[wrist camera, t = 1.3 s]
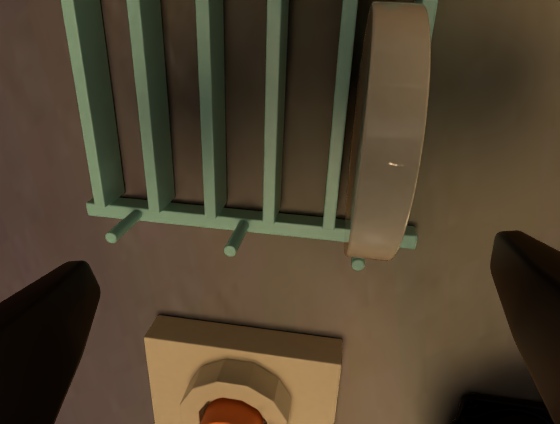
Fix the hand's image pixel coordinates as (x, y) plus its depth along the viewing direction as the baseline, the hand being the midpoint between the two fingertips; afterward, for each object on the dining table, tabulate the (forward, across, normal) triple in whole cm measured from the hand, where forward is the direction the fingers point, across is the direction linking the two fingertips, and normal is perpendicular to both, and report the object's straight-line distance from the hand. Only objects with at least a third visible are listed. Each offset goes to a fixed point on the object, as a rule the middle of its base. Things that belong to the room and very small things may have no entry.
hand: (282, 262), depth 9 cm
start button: (+7, +6, +17) cm, 20 cm away
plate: (+12, -4, +1) cm, 13 cm away
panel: (+11, +5, +18) cm, 22 cm away
